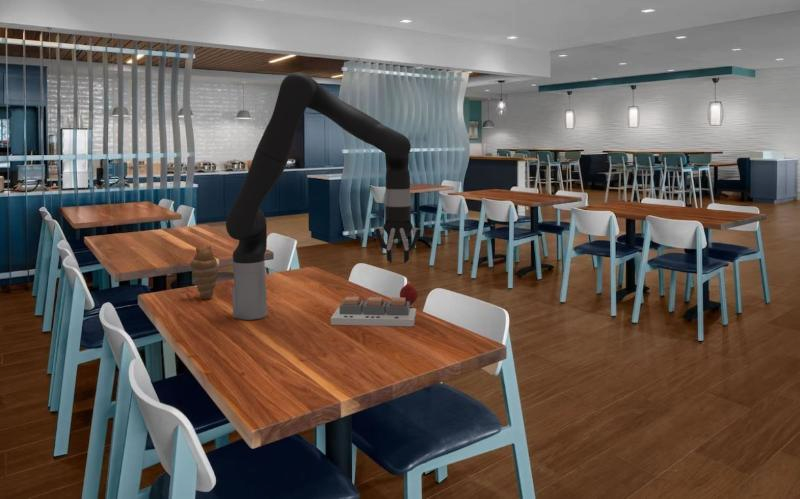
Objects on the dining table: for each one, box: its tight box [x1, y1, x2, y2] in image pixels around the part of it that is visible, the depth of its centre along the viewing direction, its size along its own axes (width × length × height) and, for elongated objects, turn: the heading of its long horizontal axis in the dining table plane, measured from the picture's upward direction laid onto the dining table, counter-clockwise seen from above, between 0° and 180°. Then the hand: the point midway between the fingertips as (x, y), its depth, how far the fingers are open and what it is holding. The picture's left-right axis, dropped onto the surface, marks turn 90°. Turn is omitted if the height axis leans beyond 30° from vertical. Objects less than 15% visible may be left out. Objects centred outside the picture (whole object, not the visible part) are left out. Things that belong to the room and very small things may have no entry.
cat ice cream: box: [190, 245, 219, 300], centre depth 203 cm, size 9×8×18 cm
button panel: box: [330, 300, 417, 327], centre depth 179 cm, size 24×12×4 cm, turn 85°
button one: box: [390, 297, 406, 306], centre depth 179 cm, size 4×4×2 cm
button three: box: [366, 296, 384, 306], centre depth 180 cm, size 4×4×2 cm
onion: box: [399, 281, 419, 306], centre depth 194 cm, size 6×6×8 cm
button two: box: [344, 296, 361, 305], centre depth 181 cm, size 4×4×2 cm
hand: (398, 262), depth 177 cm, fingers open, 3 cm apart
